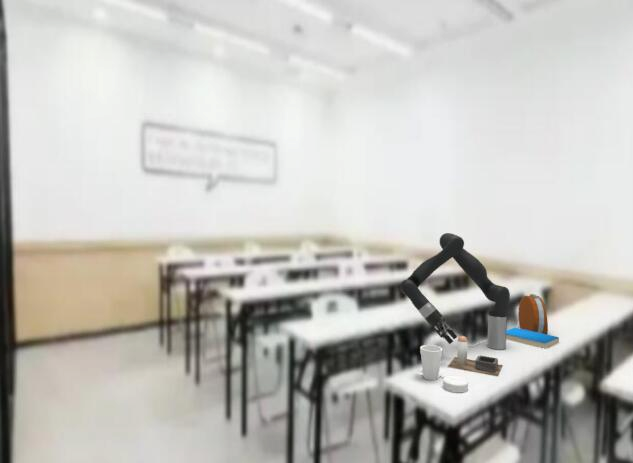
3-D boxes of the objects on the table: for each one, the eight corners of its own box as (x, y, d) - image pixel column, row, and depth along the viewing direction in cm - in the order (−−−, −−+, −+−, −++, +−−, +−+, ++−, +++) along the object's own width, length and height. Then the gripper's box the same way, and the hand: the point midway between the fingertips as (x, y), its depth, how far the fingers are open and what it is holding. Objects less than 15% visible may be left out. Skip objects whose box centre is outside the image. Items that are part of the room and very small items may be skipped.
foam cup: (438, 373, 202) (438, 344, 201) (444, 381, 193) (445, 351, 192) (417, 373, 202) (417, 344, 201) (422, 381, 193) (423, 351, 192)
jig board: (454, 359, 221) (455, 348, 220) (502, 367, 210) (503, 356, 210) (446, 369, 207) (447, 358, 206) (497, 379, 196) (498, 367, 196)
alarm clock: (550, 337, 260) (552, 298, 258) (533, 336, 260) (535, 298, 259) (533, 326, 282) (534, 291, 280) (517, 326, 282) (518, 290, 281)
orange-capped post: (458, 361, 214) (458, 334, 213) (467, 363, 212) (468, 335, 211) (456, 364, 210) (456, 336, 210) (465, 366, 208) (466, 338, 207)
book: (545, 342, 237) (500, 331, 256) (545, 350, 238) (500, 339, 257) (559, 336, 249) (514, 326, 268) (558, 344, 249) (514, 333, 268)
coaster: (458, 395, 179) (458, 386, 179) (437, 387, 187) (438, 378, 187) (473, 389, 185) (473, 381, 185) (453, 381, 193) (453, 373, 193)
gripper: (431, 311, 210) (456, 339, 205) (439, 305, 222) (462, 332, 217) (420, 321, 213) (444, 349, 208) (428, 315, 225) (451, 341, 220)
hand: (453, 340), depth 213 cm, fingers open, 8 cm apart
